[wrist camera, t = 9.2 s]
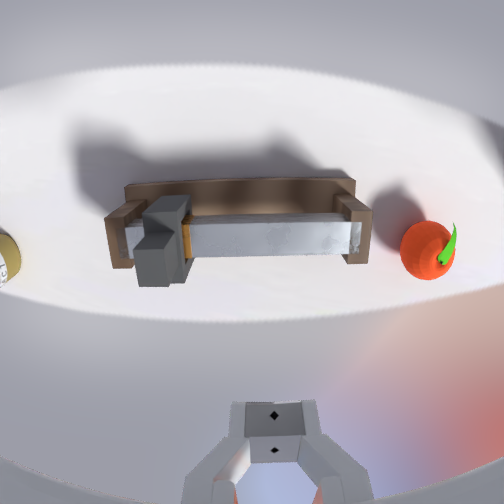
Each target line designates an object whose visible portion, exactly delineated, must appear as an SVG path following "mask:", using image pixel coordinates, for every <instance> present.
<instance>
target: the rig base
mask: <svg viewBox="0 0 504 504" xmlns="http://www.w3.org/2000/svg"><path fill="white" fill-rule="evenodd" d="M355 187H356V180H354V179H352V178H305V177H285V178H232V179H206V180H187V181H170V182H156V183H143V184H131V185H127V186H126V187H124V189H125V198H126V203H125V204H124V205H122V206H121V207H119V208H118V209H116V210H115V211H114V212H112V213H111V214H109V215H108V216H107V217H105V218H104V221H105V228H106V234H107V240H108V245H109V251H110V256H111V261H112V266H113V269H121V268H132V267H133V266H134V265H135V262H134V259H130V257H125V256H126V255H129V253H127V252H129V251H128V248H127V247H128V244H127V242H126V240H127V238H126V240H124V241H125V242H123V240H122V239H125V237H126V235H125V234H126V232H125V227H126V226H128V225H129V224H130V223H131V222H132V221H133V220H134V219H135V218H142V212H144V211H145V210H146V209H147V208H148V207H149V206H151V205H152V204H153V203H154V202H155V201H156V200H158V199H159V198H160V197H161V196H171V195H190V194H191V203H192V215H195V216H197V215H227V214H271V213H343V214H344V215H345V216H346V217H347V218H348V219H349V220H350V221H351V222H352V223H351V224H352V225H353V222H356V224H357V222H362V223H360V224H362V226H361V225H359V224H358V225H359V226H361V229H360V230H361V233H360V235H361V236H360V238H359V237H355V236H354V235H353V236H354V237H355V238H357V239H358V238H359V239H360V240H358V241H360V245H358V246H360V247H358V249H359V250H358V249H357V250H358V251H359V252H358V251H356V250H354V251H356V252H358V253H357V254H356V252H355V253H354V254H350V252H349V254H341V255H342V256H343V258H344V259H345V261H346V263H347V264H368V256H369V248H370V239H371V229H372V218H373V211H372V210H371V209H369V208H368V207H367V206H366V205H364V204H363V203H362V202H360V201H359V200H358V199H356V198H355ZM352 225H351V226H352ZM356 226H357V225H356ZM357 227H358V226H357ZM115 228H116V229H115ZM121 228H122V229H121ZM354 228H355V227H354ZM119 229H120V230H119ZM356 229H357V228H356ZM122 230H124V231H122ZM360 230H359V232H360ZM119 231H120V232H119ZM351 231H352V229H351ZM351 231H350V232H351ZM122 232H124V233H123V237H124V238H123V237H122ZM353 232H355V230H354V231H353ZM353 232H352V233H353ZM116 233H117V234H116ZM118 233H119V234H118ZM120 233H121V234H120ZM353 234H356V232H355V233H353ZM116 235H117V236H116ZM118 235H119V236H120V237H118ZM351 235H352V234H351V233H350V236H351ZM356 235H358V233H357V234H356ZM121 237H122V238H121ZM354 237H352V239H354V242H355V241H356V240H355V238H354ZM117 238H118V239H119V240H117ZM120 239H121V240H122V242H121V241H120ZM118 241H119V242H120V244H119V242H118ZM350 242H351V237H350ZM351 243H352V242H351ZM351 243H349V244H351ZM355 243H356V242H355ZM118 244H119V245H120V247H119V245H118ZM124 244H125V245H124ZM357 244H359V243H357ZM351 245H352V244H351ZM353 246H354V244H353ZM350 247H351V246H350ZM350 247H349V248H350ZM118 248H119V249H120V248H121V249H122V250H121V249H120V250H121V252H120V250H119V249H118ZM352 248H353V247H351V250H352ZM355 248H356V247H355ZM123 249H124V250H127V251H124V250H123ZM353 249H354V248H353ZM349 250H350V249H349ZM119 252H120V253H119ZM125 252H126V254H125ZM352 252H353V251H352ZM122 253H123V254H122ZM121 254H122V255H121ZM120 255H121V257H120ZM122 256H123V258H122Z"/></svg>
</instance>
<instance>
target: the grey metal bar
mask: <svg viewBox="0 0 504 504" xmlns="http://www.w3.org/2000/svg"><path fill="white" fill-rule="evenodd" d="M351 223H352V222H351V221H350V220H349V219H348V218H347V217H346V216H345V215H344V214H343V213H271V214H227V215H197V216H195V215H185V217H184V218H183V219H182V221H181V226H182V237H183V246H184V256H185V258H192V257H240V256H287V255H330V254H349V252H350V254H354V253H355V252H356V251H358V250H359V249H358V247H360V246H358V245H360V241H358V240H360V239H359V238H360V236H361V235H360V233H361V230H360V229H361V226H362V224H360V223H362V222H357V224H356V222H353V225H352V224H351ZM358 224H359V225H361V226H359V225H358ZM351 225H352V226H351ZM356 225H357V226H358V227H357V226H356ZM354 227H355V228H354ZM356 228H357V229H356ZM115 229H116V228H115ZM121 229H122V228H121ZM351 229H352V231H351ZM119 230H120V229H119ZM354 230H355V232H356V234H357V233H358V235H356V234H353V233H355V232H353V231H354ZM359 230H360V232H359ZM122 231H124V230H122ZM350 231H351V232H350ZM119 232H120V231H119ZM125 232H126V234H125V235H126V237H125V239H122V240H123V242H125V241H124V240H126V238H127V240H126V242H127V244H128V247H127V248H128V251H129V252H127V253H129V255H126V256H125V257H130V259H134V256H133V249H134V248H135V246H136V245H137V244H138V243H139V242H140V241H141V240H142V238H143V237H144V228H143V220H142V218H135V219H134V220H133V221H132V222H131V223H130V224H129V225H128V226H126V227H125ZM352 232H353V233H352ZM123 233H124V232H122V237H123ZM350 233H351V234H352V235H351V236H350ZM116 234H117V233H116ZM118 234H119V233H118ZM120 234H121V233H120ZM353 235H354V236H355V237H359V238H358V239H357V238H355V237H354V236H353ZM116 236H117V235H116ZM118 237H120V236H119V235H118ZM122 237H121V238H122ZM350 237H351V242H352V243H351V242H350ZM352 237H354V238H355V240H356V241H355V242H356V243H355V242H354V239H352ZM123 238H124V237H123ZM117 240H119V239H118V238H117ZM122 240H121V239H120V241H121V242H122ZM118 242H119V241H118ZM349 243H351V244H352V245H351V244H349ZM357 243H359V244H357ZM119 244H120V242H119ZM119 244H118V245H119ZM353 244H354V246H353ZM124 245H125V244H124ZM350 246H351V247H353V248H354V249H353V248H352V250H351V247H350ZM119 247H120V245H119ZM349 247H350V248H349ZM355 247H356V248H355ZM118 249H119V248H118ZM120 249H121V248H120ZM120 249H119V250H120ZM349 249H350V250H349ZM357 249H358V250H357ZM121 250H122V249H121ZM121 250H120V252H121ZM123 250H124V249H123ZM354 250H356V251H354ZM124 251H127V250H124ZM352 251H353V252H352ZM120 252H119V253H120ZM358 252H359V251H358ZM358 252H356V254H357V253H358ZM122 254H123V253H122ZM122 254H121V255H122ZM125 254H126V252H125ZM121 255H120V257H121ZM122 258H123V256H122Z"/></svg>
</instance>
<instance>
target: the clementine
mask: <svg viewBox="0 0 504 504" xmlns="http://www.w3.org/2000/svg"><path fill="white" fill-rule="evenodd" d="M453 225H454V223H453ZM456 235H457V234H456V227H455V225H454V231H453V234H452V236H451V234H450V233H449V231H448V230H447V229H446V228H445V227H444V226H442V225H441V224H439V223H437V222H433V221H422V222H418V223H416V224H414V225H413V226H411V227H410V228H409V229H408V230H407V231H406V232H405V234H404V236H403V238H402V241H401V244H400V255H401V260H402V262H403V264H404V266H405V268H406V270H407V271H408V272H409V273H410V274H412V275H413V276H414V277H417V278H419V279H423V280H433V279H436V278H438V277H440V276H442V275H444V274H445V273H446V272H447V271H448V270H449V268H450V267H451V265H452V263H453V260H454V256H455V243H456Z"/></svg>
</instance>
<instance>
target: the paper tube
mask: <svg viewBox="0 0 504 504" xmlns="http://www.w3.org/2000/svg"><path fill="white" fill-rule="evenodd" d="M20 266H21V256H20V252H19V249H18V247H17V245H16V244H15V242H14V241H13V240H12V239H11V238H10V237H9V236H7V235H4V234H0V288H1V287H2V286H3V285H4V284H5V283H6V282H8V281H9V280H10V279H11V278H12V277H14V276H15V275H16V274H17V273H18V272H19V270H20Z"/></svg>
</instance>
